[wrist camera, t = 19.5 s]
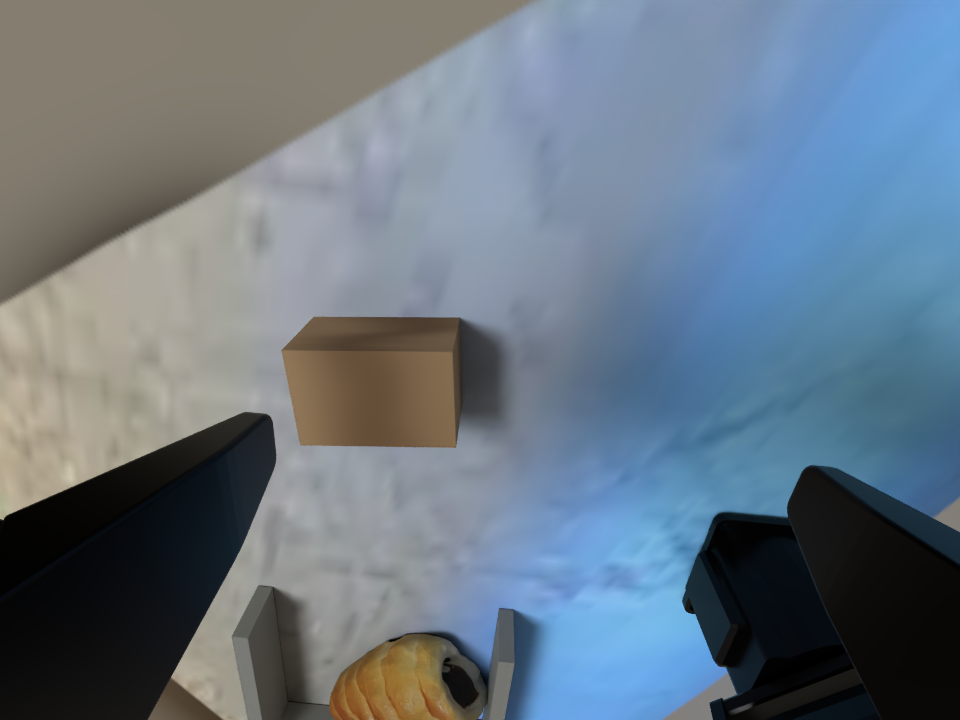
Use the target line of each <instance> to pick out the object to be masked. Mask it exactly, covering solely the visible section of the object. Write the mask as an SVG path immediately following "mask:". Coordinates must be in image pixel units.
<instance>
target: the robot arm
mask: <svg viewBox="0 0 960 720" xmlns="http://www.w3.org/2000/svg"><path fill="white" fill-rule="evenodd" d="M275 463H276V447H275V438H274V430H273V422H272V419H271V417H270V416H269V415H268V414H263V413H252V412H244V413H241V414H239V415H236V416H234V417H232V418H229V419H227V420H225V421H223V422H220V423H218V424H216V425H213V426H211V427H209V428H206V429H204V430H202V431H200V432H197V433H195V434H193V435H190V436H188V437H186V438H183V439H181V440H179V441H177V442H174V443H172V444H170V445H167V446H165V447H163V448H160V449H158V450H156V451H154V452H151V453H149V454H147V455H144V456H142V457H140V458H138V459H135V460H133V461H131V462H128V463H126V464H124V465H121V466H119V467H117V468H115V469H112V470H110V471H108V472H105V473H103V474H101V475H98V476H96V477H94V478H92V479H89V480H87V481H85V482H82V483H80V484H78V485H76V486H73V487H71V488H69V489H66V490H64V491H62V492H59V493H57V494H55V495H53V496H50V497H48V498H46V499H43V500H41V501H39V502H36V503H34V504H32V505H30V506H27V507H25V508H23V509H20V510H18V511H16V512H14V513H11V514H9V515H7V516H6V517H5V518H4V520H1V519H0V720H148V718H149V716H150V715H151V713H152V711H153V709H154V707H155V705H156V704H157V702H158V700H159V698H160V696H161V694H162V693H163V691H164V689H165V687H166V685H167V683H168V682H169V680H170V678H171V676H172V674H173V673H174V671H175V669H176V667H177V665H178V663H179V662H180V660H181V658H182V656H183V654H184V652H185V651H186V649H187V647H188V645H189V643H190V641H191V640H192V638H193V636H194V634H195V632H196V631H197V629H198V627H199V625H200V623H201V621H202V620H203V618H204V616H205V614H206V612H207V610H208V609H209V607H210V605H211V603H212V601H213V599H214V598H215V596H216V594H217V592H218V590H219V588H220V587H221V585H222V583H223V581H224V579H225V578H226V576H227V574H228V572H229V570H230V568H231V567H232V565H233V563H234V561H235V559H236V557H237V555H238V553H239V551H240V549H241V547H242V545H243V543H244V541H245V538H246V536H247V534H248V531H249V529H250V526H251V524H252V521H253V519H254V517H255V514H256V512H257V509H258V507H259V504H260V502H261V500H262V497H263V495H264V492H265V490H266V487H267V485H268V482H269V480H270V478H271V475H272V473H273V470H274V467H275ZM787 513H788V518H789V520H786V519H775V518H765V517H754V516H744V515H733V514H721V515H718V516H716V517H715V518H714V519H713V521H712V524H711V526H710V529H709V531H708V534H707V537H706V539H705V542H704V545H703V547H702V550H701V551H700V553H699V554H698V555H697V558H696V561H695V563H694V566H693V569H692V571H691V574H690V576H689V579H688V582H687V584H686V592H685V594H684V597H683V600H682V603H683V606H684V608H685V610H686V612H688V613H691V614H696V617H697V619H698V622H699V624H700V627H701V630H702V632H703V635H704V637H705V640H706V642H707V645H708V647H709V650H710V652H711V655H712V658H713V660H714V661H715V663H716V664H717V665H718V666H720V667H726V669H727V671H728V673H729V676H730V678H731V680H732V683H733V685H734V688H735V690H736V693H737V695H735V696H732V697H730V698H727V699H725V700H723V699H722V698H720V699H717V700H715V701H712V702H710V708H711V713H712V717H713V720H960V532H958V531H956V530H954V529H952V528H950V527H948V526H947V525H945V524H943V523H941V522H939V521H937V520H935V519H933V518H931V517H929V516H927V515H926V514H924V513H922V512H920V511H918V510H916V509H914V508H912V507H910V506H908V505H906V504H904V503H902V502H901V501H899V500H897V499H895V498H893V497H891V496H889V495H887V494H885V493H883V492H881V491H879V490H878V489H876V488H874V487H872V486H870V485H868V484H866V483H864V482H862V481H860V480H858V479H856V478H854V477H853V476H851V475H849V474H847V473H845V472H843V471H841V470H839V469H837V468H833V467H826V466H815V465H811V466H808V467H806V468H805V469H804V470H803V471H802V473H801V475H800V477H799V479H798V482H797V484H796V486H795V488H794V490H793V493H792V495H791V497H790V499H789V502H788V506H787ZM724 524H726V525H724ZM722 525H724V526H722Z"/></svg>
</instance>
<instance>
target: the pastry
mask: <svg viewBox="0 0 960 720" xmlns="http://www.w3.org/2000/svg"><path fill="white" fill-rule="evenodd" d="M487 696H488V691H487V688H486V686H485V684H484V682H483V679H482V676H481V675H480V670H479V669H478V667H477V666H476V665H475V664H474V663H473V662H472V661H470V660H469V659H468V658H467V657H465V656H464V655H462V654H461V653H459V651H458V650H457V648H456V647H455V646H454V645H453V644H452V643H451V642H450V641H448V640H446V639H444V638H441V637H438V636H432V635H430V634H425V633H418V634H408V635H404V636H403V637H402V638H401V639H399V640H396V641H394V642H389V641H386V642H385V643H383V644H382V645H379V646H377V647H376V648H375V649H374V650H372V651H370V652H368V653H366V654H365V655H364V656H363V657H361V658H360V659H359V660H357V661H356V662H354V663H353V664H352V665H350V666H349V667H348V668H347V669H346V670H344V671H343V672H342V673H341V675H340V676H339V678H338V680H337V682H336V684H335V687H334V689H333V691H332V693H331V697H330V703H329V710H330V714H331V716H332V717H333V718H334V719H335V720H477V719H478V718H479V716H480V715H481V713H482V712H483V707H484V706H485V705H486V704H487Z"/></svg>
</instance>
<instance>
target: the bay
mask: <svg viewBox="0 0 960 720" xmlns="http://www.w3.org/2000/svg"><path fill="white" fill-rule="evenodd" d="M232 641H233V646H234V652H235V657H236V662H237V667H238V672H239V677H240V682H241V687H242V692H243V697H244V702H245V707H246V712H247V718H248V720H335V719H334V718H333V717H332V716H331V714H330V710H329V706H327V705H316V704H306V703H295V702H288V698H287V691H286V683H285V676H284V668H283V661H282V653H281V646H280V638H279V631H278V623H277V616H276V608H275V601H274V593H273V587H264V586H258V587H257V589H256V591H255V593H254V595H253V597H252V599H251V601H250V603H249V604H248V606H247V608H246V610H245V612H244V614H243V616H242V618H241V620H240V622H239V624H238V625H237V627H236V629H235V631H234V633H233V635H232ZM514 664H515V654H514V613H513V610H509V609H499V612H498V618H497V625H496V631H495V638H494V645H493V651H492V658H491V665H490V671H489V678H488V684H487V691H488V696H487V704H486V705H485V706H484V711H483V717H482V720H504V719H505V713H506V708H507V702H508V697H509V692H510V686H511V681H512V675H513V670H514Z"/></svg>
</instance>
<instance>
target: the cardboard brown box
mask: <svg viewBox="0 0 960 720" xmlns="http://www.w3.org/2000/svg"><path fill="white" fill-rule="evenodd" d="M282 355H283V360H284V365H285V370H286V375H287V380H288V385H289V390H290V395H291V400H292V406H293V411H294V416H295V421H296V426H297V431H298V436H299V441H300V445H323V446H386V447H449V448H456V444H457V437H458V429H459V422H460V415H461V408H462V379H461V343H460V318H423V317H313V318H312V319H311V320H310V321H309V322H308V323H307V324H306V326H305V327H304V328H303V329H302V330H301V331H300V332H299V333H298V334H297V335H296V336H295V337H294V338H293V339H292V340H291V341H290V342H289V343H288V344H287V345H286V346H285V347H284V348H283V349H282Z"/></svg>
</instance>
